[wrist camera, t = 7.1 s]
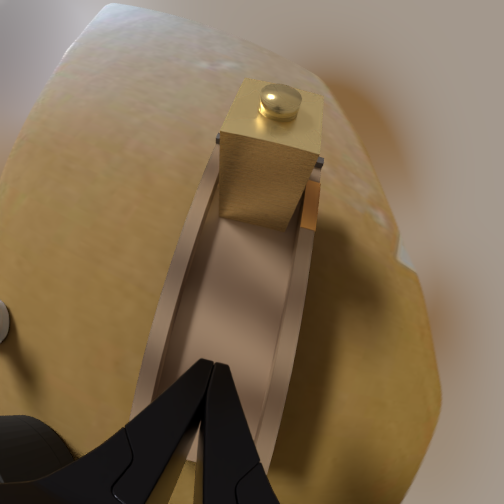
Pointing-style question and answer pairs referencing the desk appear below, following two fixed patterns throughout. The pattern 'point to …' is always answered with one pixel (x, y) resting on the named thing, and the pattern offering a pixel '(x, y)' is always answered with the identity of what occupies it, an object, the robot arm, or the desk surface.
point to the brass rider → (268, 152)
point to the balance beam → (233, 306)
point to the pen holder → (29, 449)
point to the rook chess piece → (3, 321)
